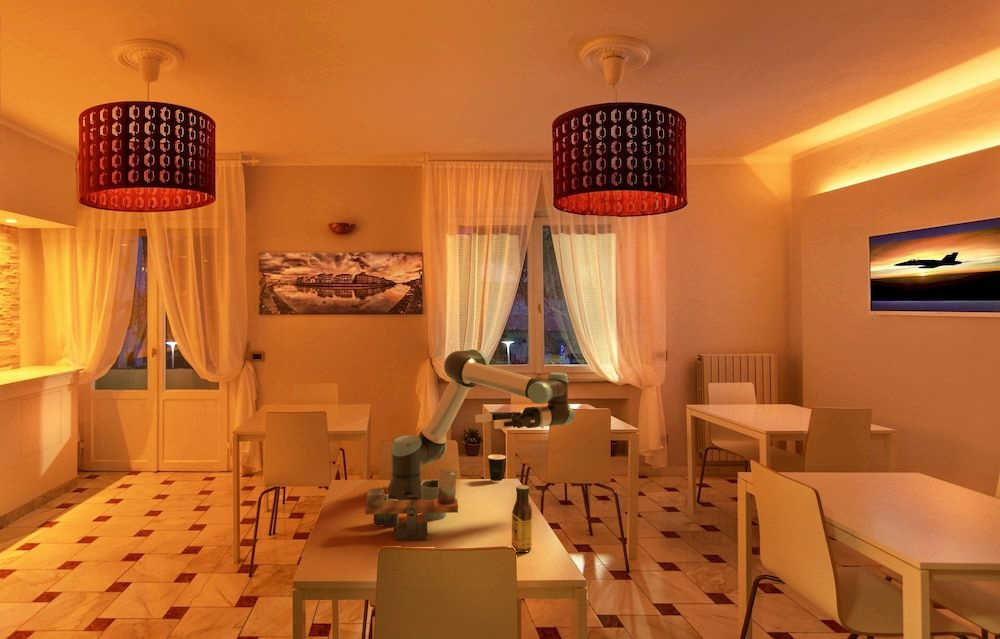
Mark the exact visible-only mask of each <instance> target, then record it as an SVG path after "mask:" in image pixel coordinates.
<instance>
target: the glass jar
mask: <svg viewBox="0 0 1000 639" xmlns="http://www.w3.org/2000/svg"><path fill="white" fill-rule="evenodd" d="M437 473H438V474H437V476H438V478H437V480H438V496H437V502H438V503H440V504H453V503H455V498H456V495H457V494H456V493H457V492H456V491H457V489H456V488H457V471H456V470H453V469H441V470H438V472H437Z"/></svg>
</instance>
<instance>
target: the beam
mask: <svg viewBox="0 0 1000 639" xmlns="http://www.w3.org/2000/svg"><path fill="white" fill-rule="evenodd" d="M384 494H385V488H372V489H371V488H370V489H368V491H367V494H366V505H365V508H364V515H374V514H399V515H400V514H401V515H403V514H405V515H407V505H417V507H416V513H417V514H422V513H446V514H450V513H454V514H455V513H459V503H458V498H457V497H455V503H453V504H440V503H438V502H437V499H434V500H421V499H419V500H414V499H411V500H384Z"/></svg>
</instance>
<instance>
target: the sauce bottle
mask: <svg viewBox="0 0 1000 639" xmlns="http://www.w3.org/2000/svg"><path fill="white" fill-rule="evenodd" d="M515 491H516V499H515V500H516V501H515V503H514V505H513V509H512V512H511V547H512V546H513V547H514V548H515V549H516V551H517V552H526V551H530V552H531V550H532V545H533V542H532V541H533V509H532V505H531V504H530V502H529V501H530V495H529V493H530V486H528V485H526V484H525V485H524V484H521V485H517V486H516V489H515ZM517 552H516V553H517Z"/></svg>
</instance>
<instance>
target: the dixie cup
mask: <svg viewBox="0 0 1000 639" xmlns="http://www.w3.org/2000/svg"><path fill="white" fill-rule="evenodd" d="M487 458H488V467H489V478H490V482H491V481H492V482H494V483H493V484H501V483H500V481H502V482H503V480H502V479H504V471H505V470H504V469H505V462H506V458H507V457H506V455H503V454H490V455H488V456H487ZM492 482H491V483H492Z"/></svg>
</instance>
